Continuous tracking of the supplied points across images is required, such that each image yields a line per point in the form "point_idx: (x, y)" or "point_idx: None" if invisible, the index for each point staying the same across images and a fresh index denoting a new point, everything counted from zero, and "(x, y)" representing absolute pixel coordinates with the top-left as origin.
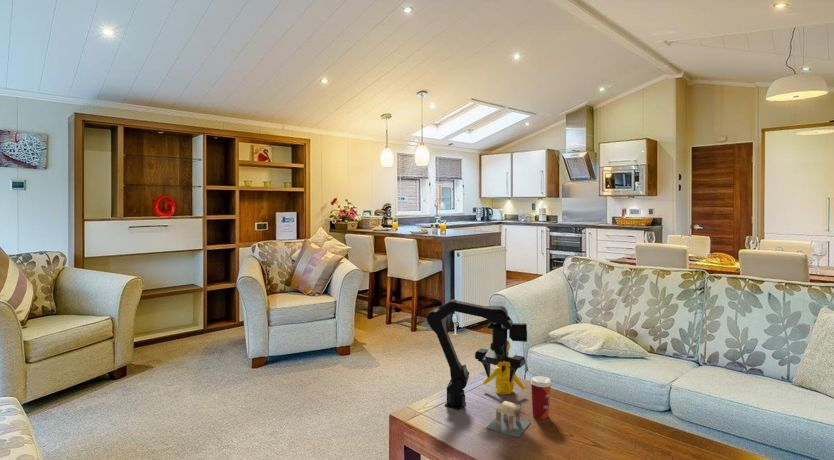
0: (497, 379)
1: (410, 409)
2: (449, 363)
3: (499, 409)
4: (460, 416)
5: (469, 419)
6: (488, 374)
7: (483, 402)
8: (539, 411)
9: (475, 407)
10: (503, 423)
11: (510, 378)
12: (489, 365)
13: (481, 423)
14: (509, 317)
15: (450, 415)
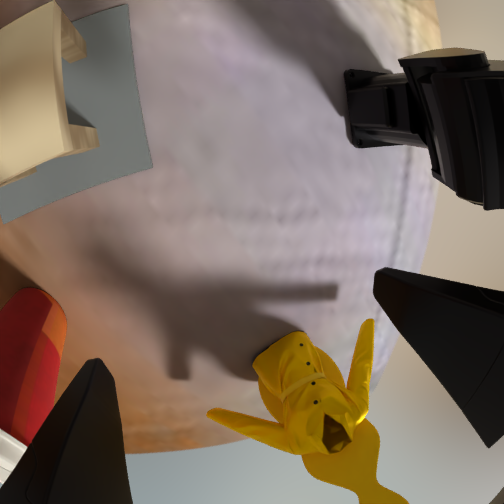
0: (333, 376)
1: (432, 15)
2: None
3: (30, 12)
4: (299, 23)
5: (248, 18)
6: (398, 285)
7: (303, 220)
8: (3, 307)
9: (303, 144)
10: (73, 97)
11: (71, 397)
12: (457, 375)
13: (173, 22)
14: None
15: (335, 14)
